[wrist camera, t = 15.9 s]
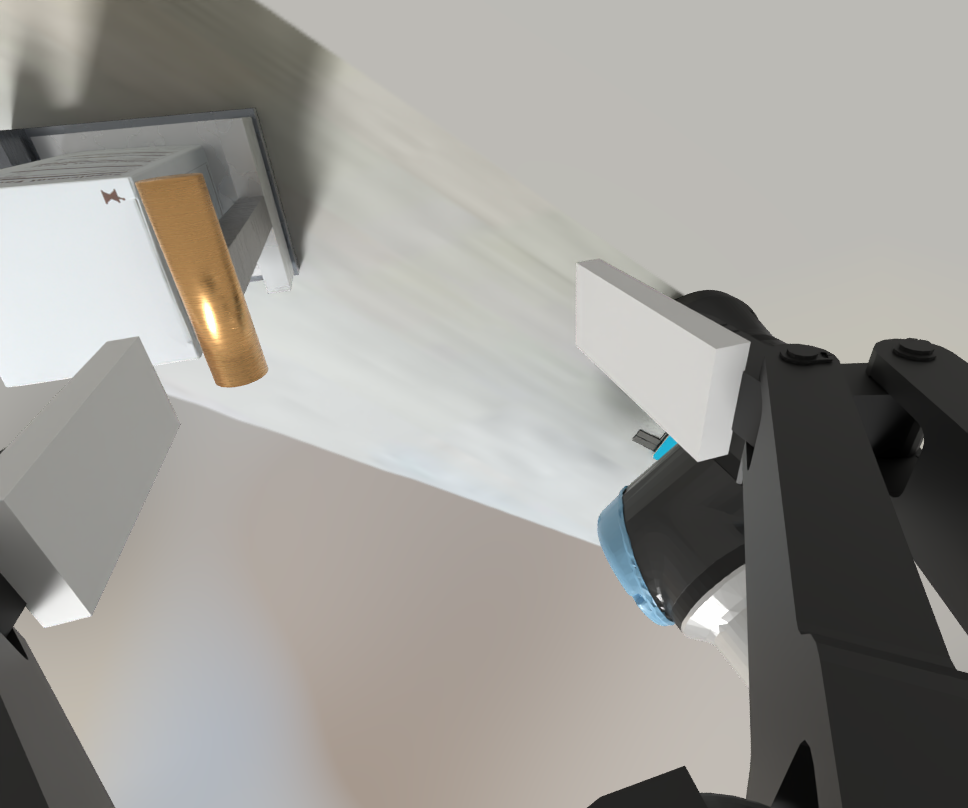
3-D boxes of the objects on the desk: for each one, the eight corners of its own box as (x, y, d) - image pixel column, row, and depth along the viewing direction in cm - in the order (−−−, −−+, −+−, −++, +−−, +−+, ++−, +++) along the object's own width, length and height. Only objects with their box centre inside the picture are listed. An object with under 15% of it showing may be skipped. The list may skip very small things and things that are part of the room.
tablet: (601, 473, 66) (607, 481, 65) (659, 399, 62) (666, 405, 61) (697, 512, 75) (704, 520, 74) (752, 450, 72) (760, 457, 70)
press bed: (299, 269, 44) (296, 287, 39) (95, 299, 41) (68, 322, 36) (255, 107, 37) (246, 108, 33) (11, 130, 34) (-33, 133, 30)
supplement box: (56, 152, 34) (-131, 184, 20) (204, 141, 36) (127, 164, 22) (117, 290, 39) (1, 394, 25) (244, 275, 41) (203, 363, 27)
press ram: (297, 270, 41) (275, 411, 22) (269, 275, 41) (223, 421, 22) (255, 116, 36) (178, 128, 17) (222, 119, 35) (104, 135, 16)
